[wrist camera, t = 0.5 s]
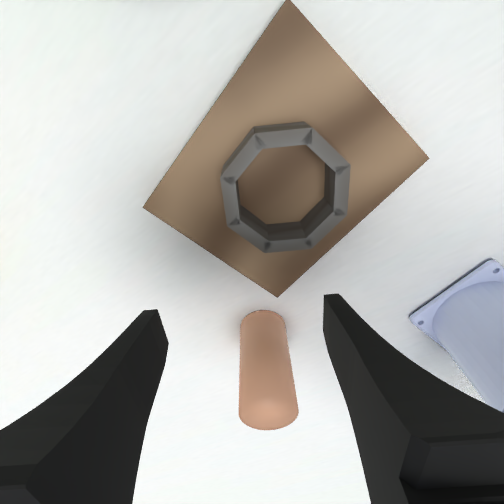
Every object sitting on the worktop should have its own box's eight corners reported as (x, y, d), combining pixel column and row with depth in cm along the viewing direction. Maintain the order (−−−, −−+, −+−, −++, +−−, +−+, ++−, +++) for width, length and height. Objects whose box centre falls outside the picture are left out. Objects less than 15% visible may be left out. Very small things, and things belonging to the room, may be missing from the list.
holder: (419, 154, 20) (453, 168, 16) (276, 288, 25) (280, 319, 22) (285, 2, 16) (295, -17, 12) (147, 200, 21) (130, 223, 18)
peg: (294, 324, 27) (311, 410, 20) (264, 349, 28) (271, 436, 22) (260, 302, 26) (265, 386, 19) (231, 329, 27) (226, 416, 20)
